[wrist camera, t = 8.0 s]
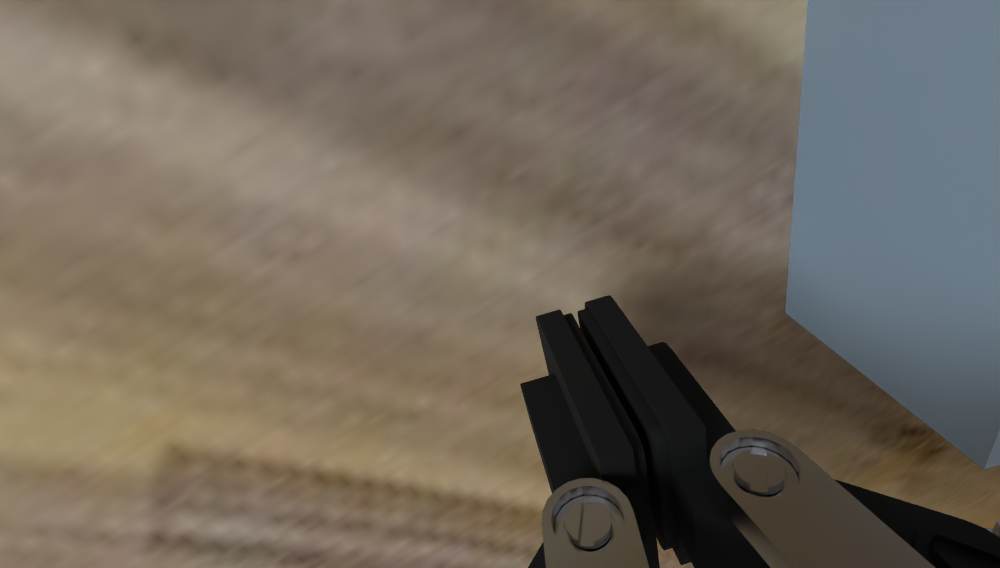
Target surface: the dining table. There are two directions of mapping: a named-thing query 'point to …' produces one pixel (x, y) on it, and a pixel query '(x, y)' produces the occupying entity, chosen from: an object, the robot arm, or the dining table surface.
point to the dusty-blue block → (904, 205)
